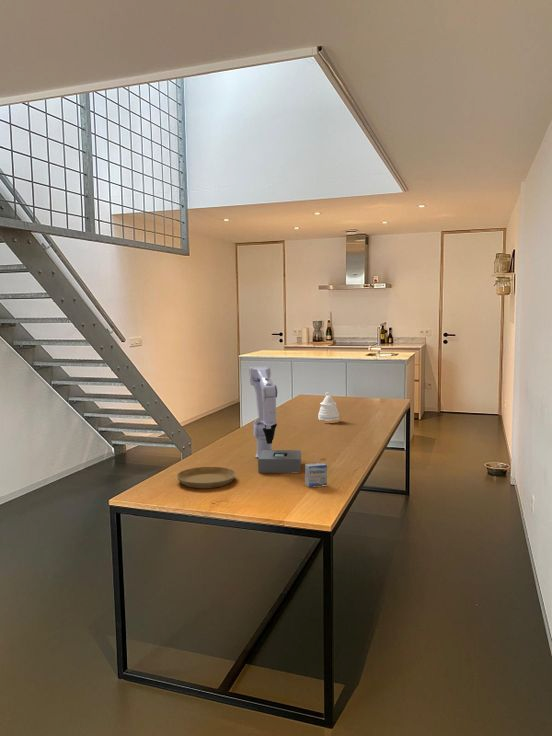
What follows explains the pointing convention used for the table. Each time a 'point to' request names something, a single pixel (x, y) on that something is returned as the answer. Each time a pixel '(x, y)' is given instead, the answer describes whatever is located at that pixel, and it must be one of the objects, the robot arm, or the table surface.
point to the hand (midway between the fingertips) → (270, 441)
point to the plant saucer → (206, 477)
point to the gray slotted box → (279, 461)
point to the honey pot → (328, 409)
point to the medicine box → (315, 474)
